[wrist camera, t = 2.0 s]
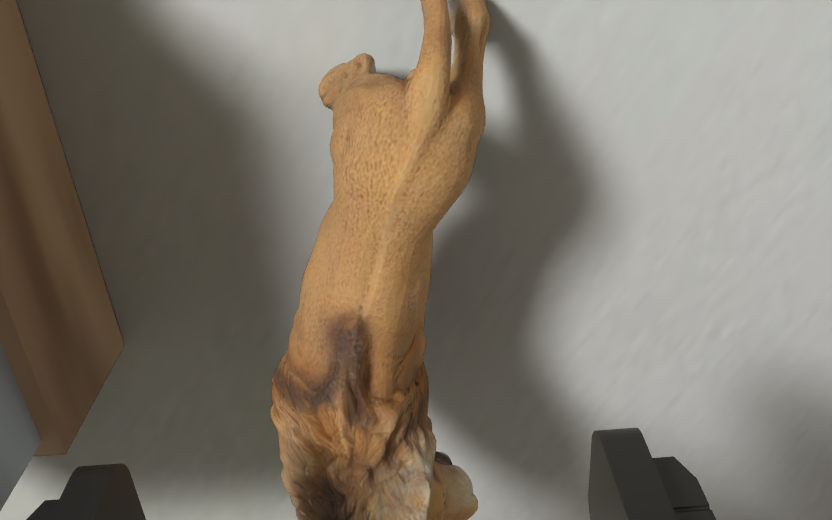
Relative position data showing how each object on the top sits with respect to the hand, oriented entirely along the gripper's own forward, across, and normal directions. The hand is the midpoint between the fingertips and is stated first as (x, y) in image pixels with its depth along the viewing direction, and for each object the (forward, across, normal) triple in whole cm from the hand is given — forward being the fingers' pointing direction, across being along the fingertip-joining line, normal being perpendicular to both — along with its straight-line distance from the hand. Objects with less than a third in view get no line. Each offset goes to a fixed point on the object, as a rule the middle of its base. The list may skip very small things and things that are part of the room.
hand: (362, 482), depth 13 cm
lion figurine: (+11, -1, 0) cm, 11 cm away
